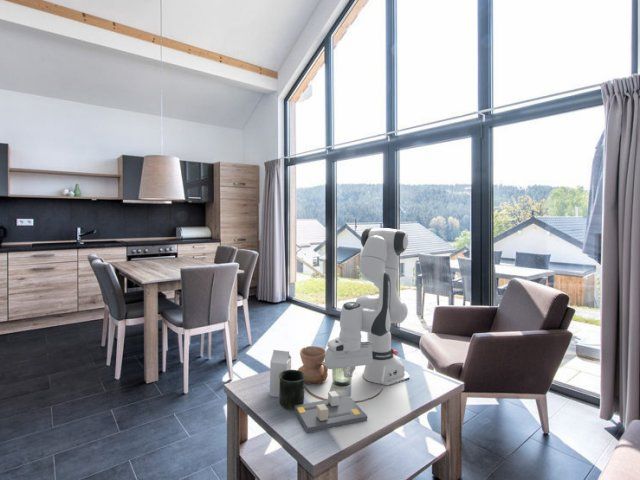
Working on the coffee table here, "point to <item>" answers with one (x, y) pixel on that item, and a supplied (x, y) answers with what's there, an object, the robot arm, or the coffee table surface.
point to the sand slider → (322, 412)
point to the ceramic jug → (313, 364)
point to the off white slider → (333, 398)
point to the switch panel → (330, 414)
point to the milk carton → (278, 369)
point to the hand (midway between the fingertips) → (348, 376)
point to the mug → (291, 388)
